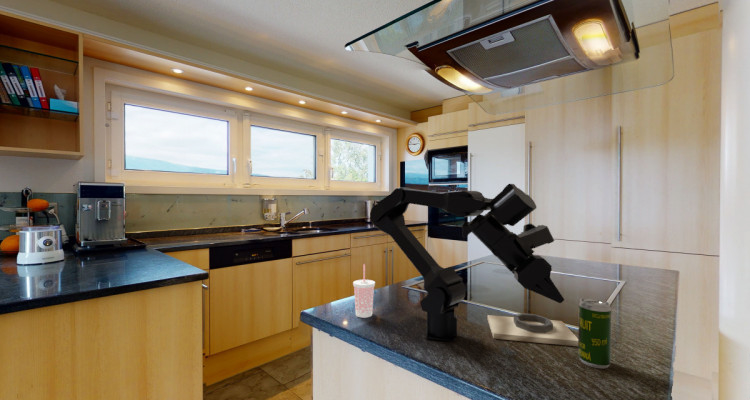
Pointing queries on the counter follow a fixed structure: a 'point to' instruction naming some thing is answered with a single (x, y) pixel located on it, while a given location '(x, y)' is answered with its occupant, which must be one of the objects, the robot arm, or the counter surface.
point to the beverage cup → (364, 296)
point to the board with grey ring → (531, 329)
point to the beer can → (594, 333)
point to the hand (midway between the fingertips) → (554, 294)
